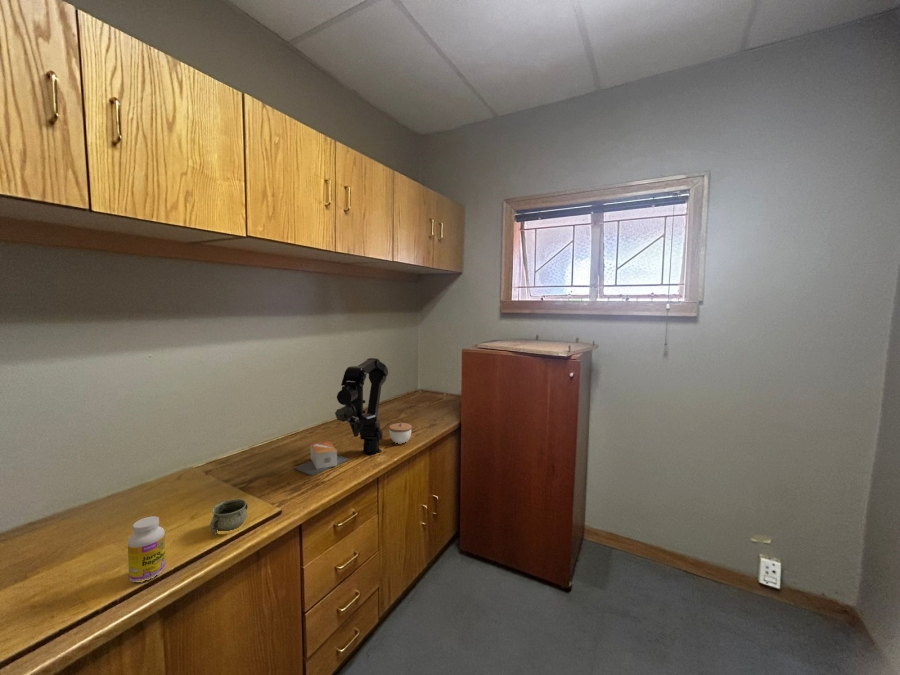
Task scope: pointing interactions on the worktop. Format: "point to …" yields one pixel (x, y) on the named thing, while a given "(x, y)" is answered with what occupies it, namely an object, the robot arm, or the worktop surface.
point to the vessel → (228, 515)
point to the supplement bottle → (146, 549)
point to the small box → (323, 455)
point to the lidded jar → (400, 432)
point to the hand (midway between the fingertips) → (356, 436)
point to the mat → (311, 469)
